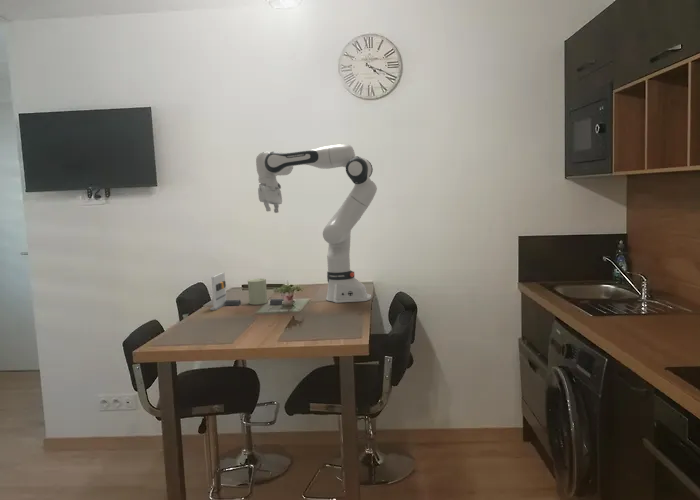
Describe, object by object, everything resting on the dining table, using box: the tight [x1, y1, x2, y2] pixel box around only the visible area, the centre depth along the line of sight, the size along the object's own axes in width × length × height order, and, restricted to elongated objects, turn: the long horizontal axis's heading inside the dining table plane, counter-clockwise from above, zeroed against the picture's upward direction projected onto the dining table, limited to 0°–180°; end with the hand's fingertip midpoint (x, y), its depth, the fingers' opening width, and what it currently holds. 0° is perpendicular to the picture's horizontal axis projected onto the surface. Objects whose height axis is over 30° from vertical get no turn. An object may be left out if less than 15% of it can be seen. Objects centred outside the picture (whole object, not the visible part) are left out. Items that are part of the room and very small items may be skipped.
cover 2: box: [269, 298, 284, 306], centre depth 286 cm, size 6×3×3 cm, turn 82°
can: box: [247, 278, 269, 306], centre depth 292 cm, size 9×9×12 cm
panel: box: [209, 272, 227, 311], centre depth 286 cm, size 4×14×16 cm, turn 172°
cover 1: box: [224, 299, 242, 307], centre depth 290 cm, size 7×3×3 cm, turn 82°
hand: (272, 212), depth 291 cm, fingers open, 8 cm apart
